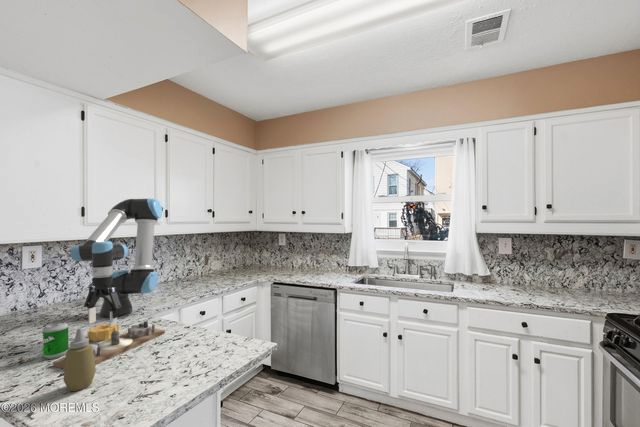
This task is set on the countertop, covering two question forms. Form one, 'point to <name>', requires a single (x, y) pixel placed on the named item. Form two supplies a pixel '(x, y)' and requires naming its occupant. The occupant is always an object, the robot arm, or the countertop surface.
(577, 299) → the countertop surface
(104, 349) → the gear board
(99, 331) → the ochre gear
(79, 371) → the squeeze bottle
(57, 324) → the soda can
